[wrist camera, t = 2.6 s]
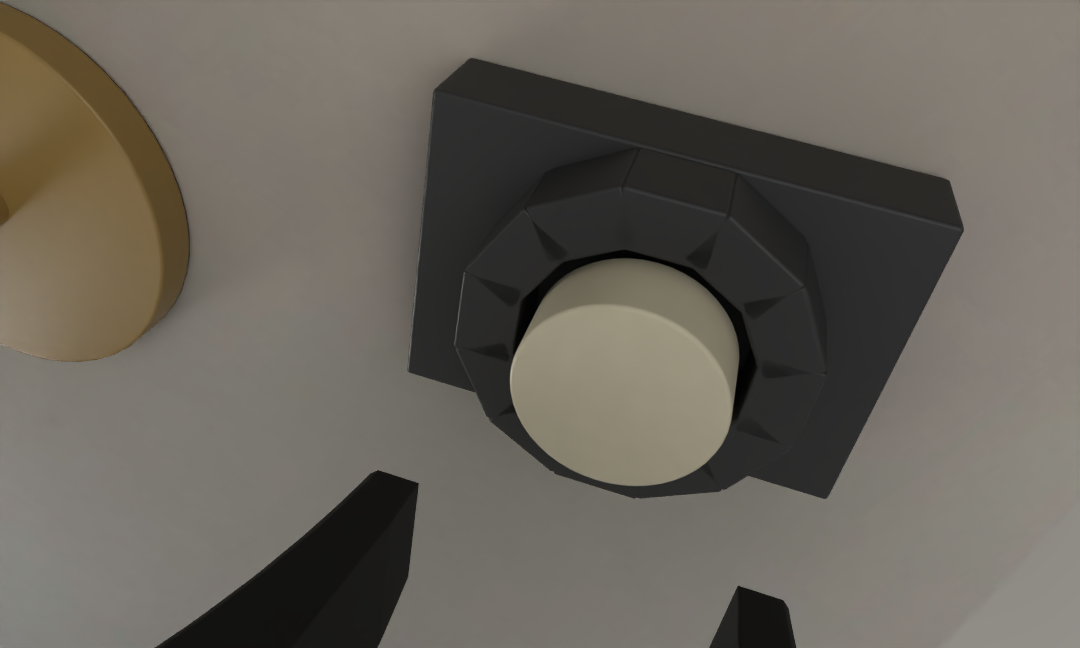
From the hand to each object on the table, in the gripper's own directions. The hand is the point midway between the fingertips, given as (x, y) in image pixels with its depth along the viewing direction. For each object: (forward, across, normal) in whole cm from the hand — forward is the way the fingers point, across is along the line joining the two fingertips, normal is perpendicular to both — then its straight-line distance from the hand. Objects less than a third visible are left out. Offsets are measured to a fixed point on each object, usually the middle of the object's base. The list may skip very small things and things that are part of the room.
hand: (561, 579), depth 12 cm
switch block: (+9, 0, 0) cm, 9 cm away
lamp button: (+6, 0, 0) cm, 6 cm away
